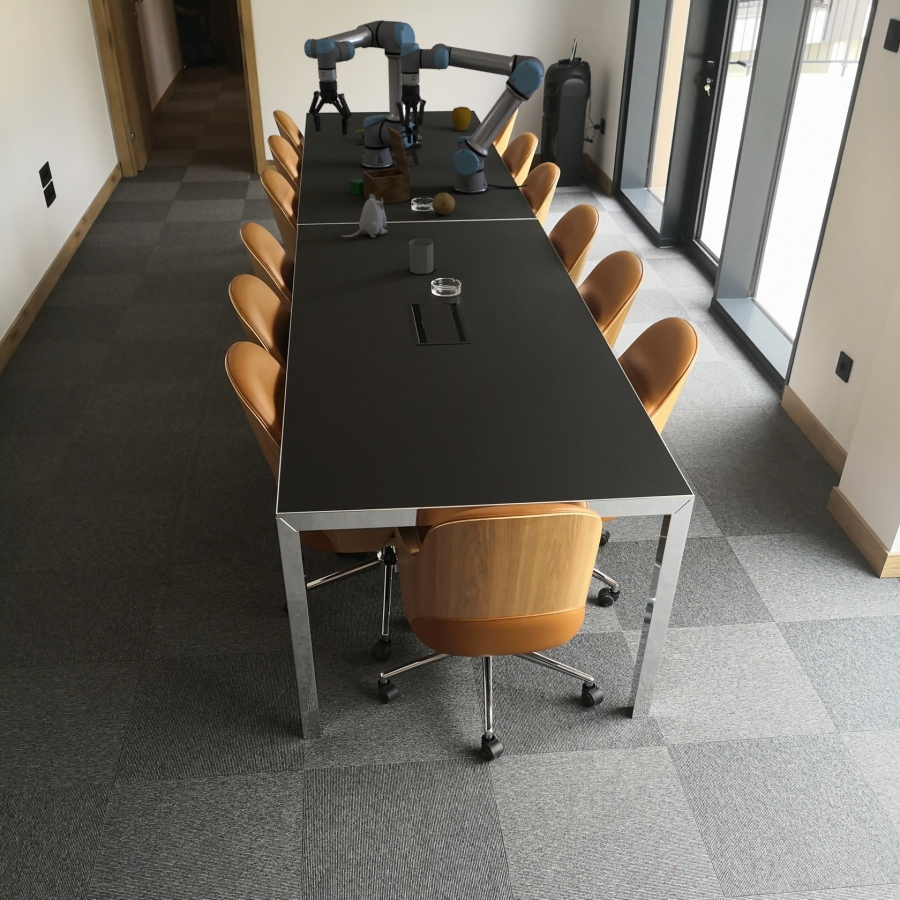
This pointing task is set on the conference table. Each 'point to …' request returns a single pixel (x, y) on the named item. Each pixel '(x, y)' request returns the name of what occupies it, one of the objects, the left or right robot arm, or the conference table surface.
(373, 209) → the toy
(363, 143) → the scepter
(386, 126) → the left robot arm
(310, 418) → the conference table surface
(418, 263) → the cup
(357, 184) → the block
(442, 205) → the potato
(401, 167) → the lid
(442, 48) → the right robot arm
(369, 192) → the chest
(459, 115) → the yellow bell pepper
